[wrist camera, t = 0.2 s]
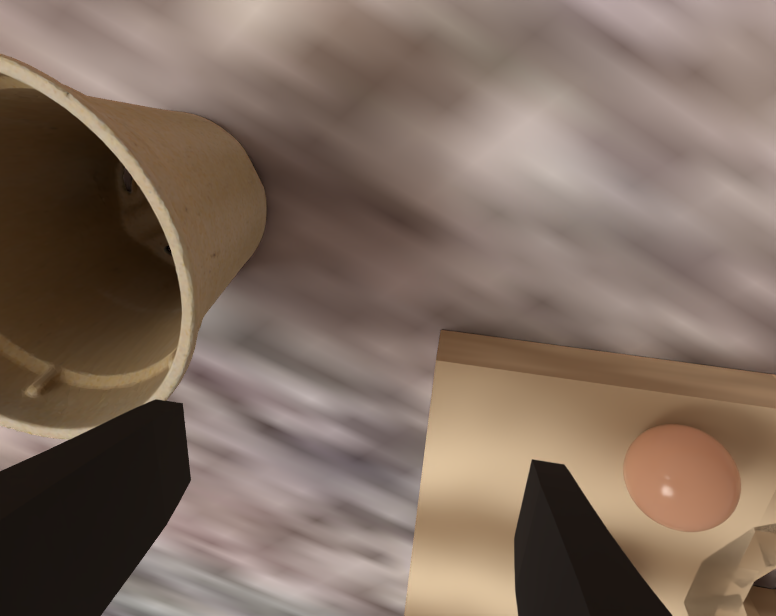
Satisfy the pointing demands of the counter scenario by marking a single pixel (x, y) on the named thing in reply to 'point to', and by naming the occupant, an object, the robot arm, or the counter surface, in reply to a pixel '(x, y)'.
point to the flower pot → (109, 248)
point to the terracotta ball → (682, 478)
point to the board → (584, 471)
